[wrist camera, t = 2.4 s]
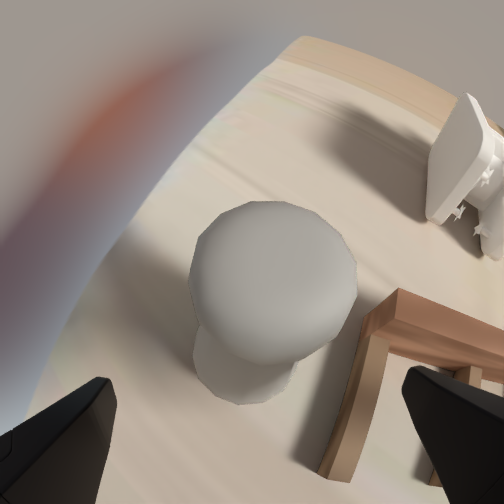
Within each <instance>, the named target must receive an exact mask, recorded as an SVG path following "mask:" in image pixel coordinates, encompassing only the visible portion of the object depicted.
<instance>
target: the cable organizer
mask: <svg viewBox="0 0 504 504" xmlns="http://www.w3.org/2000/svg"><path fill="white" fill-rule="evenodd" d="M463 199H464V200H465V201H467V202H468V203H470V204H471V205H473V206H474V207H476V208H477V209H478V216H479V225H478V226H476V227H475V228H474V229H475V232H474V234H473V236H474V235H475V234H476V233H477V234H479V233H480V245H481V250H482V252H483V253H484V254H485V255H486V256H487V257H489V258H490V259H492V260H493V261H499V260H501V259H502V258H503V257H504V137H502V136H501V135H500V134H499V133H497V132H496V131H495V130H493V129H492V128H491V127H489V125H488V123H487V121H486V119H485V116H484V114H483V112H482V110H481V108H480V106H479V104H478V102H477V100H476V99H475V98H474V97H472V96H471V95H469V94H468V93H466V92H464V93H462V94H461V95H460V97H459V98H458V100H457V102H456V104H455V106H454V108H453V110H452V112H451V114H450V115H449V117H448V119H447V121H446V123H445V125H444V126H443V128H442V130H441V132H440V134H439V135H438V137H437V139H436V141H435V142H434V144H433V146H432V148H431V151H430V154H429V157H428V175H427V194H426V208H425V216H426V218H427V219H428V220H430V221H432V222H433V223H435V224H437V225H441V224H443V223H444V222H445V220H446V219H447V218H448V217H449V216H450V215H451V213H452V214H454V215H455V216H456V218H455V220H456V219H457V218H459V219H460V217H461V214H462V212H463V211H464V210H465V208H466V207H464V208H463V205H462V207H461V208H460V209H458V208H457V206H458V205H459V204H460V202H461V201H462V200H463ZM463 204H464V203H463ZM455 220H454V221H455ZM473 236H472V237H473Z"/></svg>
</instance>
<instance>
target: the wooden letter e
mask: <svg viewBox="0 0 504 504" xmlns="http://www.w3.org/2000/svg"><path fill="white" fill-rule="evenodd" d="M388 352H390V353H393V354H396V355H399V356H403V357H406V358H409V359H413V360H416V361H419V362H423V363H426V364H430V365H433V366H437V367H440V368H444V369H447V370H451V371H454V372H455V375H454V379H456V380H458V381H461V382H464V383H466V384H469V385H471V386H474V387H476V388H479V389H480V387H481V379H485V380H489V381H493V382H497V383H501V384H504V331H503V330H501V329H499V328H496V327H494V326H492V325H489V324H487V323H484V322H482V321H480V320H477V319H475V318H472V317H470V316H468V315H465V314H463V313H460V312H458V311H455V310H453V309H450V308H448V307H446V306H443V305H441V304H438V303H436V302H433V301H431V300H428V299H426V298H423V297H421V296H418V295H416V294H413V293H411V292H408V291H406V290H403V289H401V288H398V289H396V290H395V291H394V292H393V293H392V294H391V295H390V296H389V297H387V298H386V299H385V300H384V301H383V302H382V303H380V304H379V305H378V306H377V307H376V308H374V309H373V310H372V311H371V312H370V313H368V314H367V315H366V316H365V317H364V320H363V324H362V329H361V333H360V338H359V342H358V346H357V350H356V354H355V358H354V362H353V366H352V370H351V374H350V377H349V381H348V384H347V388H346V391H345V395H344V398H343V401H342V405H341V408H340V411H339V414H338V417H337V420H336V423H335V426H334V429H333V432H332V435H331V438H330V440H329V443H328V446H327V449H326V451H325V454H324V456H323V459H322V462H321V464H320V467H319V469H318V472H317V474H318V475H320V476H322V477H324V478H326V479H328V480H334V481H340V482H346V483H350V481H351V479H352V476H353V474H354V471H355V469H356V466H357V463H358V460H359V458H360V455H361V452H362V449H363V446H364V443H365V440H366V437H367V434H368V431H369V427H370V424H371V421H372V417H373V414H374V410H375V406H376V403H377V399H378V395H379V391H380V387H381V383H382V379H383V374H384V370H385V365H386V360H387V356H388ZM429 485H430V486H437V487H442V484H441V482H440V480H439V478H438V475H437V473H436V471H435V469H434V470H433V473H432V476H431V479H430V482H429Z"/></svg>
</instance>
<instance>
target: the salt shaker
mask: <svg viewBox="0 0 504 504" xmlns="http://www.w3.org/2000/svg"><path fill="white" fill-rule="evenodd" d="M188 284H189V288H190V292H191V296H192V300H193V305H194V309H195V312H196V316H197V319H198V321H199V323H200V325H199V328H198V330H197V333H196V337H195V343H194V349H193V354H192V357H193V361H194V364H195V368H196V372H197V376H198V379H199V380H200V381H201V382H202V383H203V384H204V385H205V386H206V387H207V388H208V389H209V390H210V391H211V392H212V393H213V394H214V395H215V396H217V397H219V398H222V399H224V400H227V401H229V402H232V403H234V404H237V405H244V404H255V403H263V402H265V401H267V400H268V399H270V398H272V397H273V396H275V395H277V394H279V393H280V392H282V391H283V390H284V389H285V387H286V386H287V384H288V383H289V381H290V379H291V378H292V376H293V374H294V373H295V371H296V368H297V365H298V361H300V360H302V359H304V358H306V357H307V356H309V355H310V354H312V353H313V352H315V351H316V350H318V349H320V348H321V347H323V346H324V345H326V344H327V343H329V342H330V341H332V340H333V339H334V338H336V337H337V335H338V334H339V332H340V330H341V328H342V327H343V325H344V323H345V321H346V318H347V316H348V314H349V312H350V310H351V308H352V306H353V304H354V302H355V299H356V297H357V267H356V261H355V259H354V257H353V255H352V254H351V252H350V250H349V248H348V246H347V244H346V243H345V241H344V239H343V237H342V235H341V234H340V233H339V232H338V231H337V230H336V229H334V228H333V227H332V226H331V225H330V224H329V223H327V222H326V221H325V220H324V219H323V218H321V217H320V216H319V215H318V214H317V213H315V212H313V211H310V210H307V209H304V208H302V207H299V206H296V205H293V204H290V203H287V202H277V201H251V202H248V203H246V204H243V205H241V206H238V207H236V208H234V209H231V210H229V211H226V212H224V213H222V214H220V215H219V216H218V217H217V218H216V219H215V220H214V221H213V222H212V223H211V225H210V226H209V227H208V228H207V229H206V230H205V231H204V232H203V233H202V234H201V235H200V236H199V237H198V241H197V244H196V248H195V252H194V256H193V260H192V264H191V268H190V273H189V280H188Z"/></svg>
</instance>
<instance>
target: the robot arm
mask: <svg viewBox="0 0 504 504" xmlns="http://www.w3.org/2000/svg"><path fill="white" fill-rule="evenodd" d="M402 395H403V398H404V400H405V403H406V405H407V408H408V411H409V413H410V416H411V419H412V421H413V424H414V427H415V429H416V431H417V433H418V435H419V437H420V439H421V442H422V444H423V446H424V448H425V450H426V452H427V454H428V456H429V458H430V460H431V462H432V465H433V467H434V469H435V471H436V473H437V475H438V478H439V480H440V482H441V484H442V487H443V489H444V491H445V493H446V496H447V498H448V500H449V503H450V504H504V398H503V397H500V396H498V395H495V394H492V393H490V392H487V391H484V390H482V389H479V388H476V387H474V386H471V385H469V384H466V383H464V382H461V381H458V380H456V379H453V378H451V377H448V376H446V375H443V374H441V373H438V372H436V371H433V370H431V369H429V368H426V367H424V366H420V365H419V366H414V367H411V368H410V369H409V370H408V372H407V374H406V377H405V380H404V383H403V385H402ZM116 408H117V399H116V396H115V392H114V389H113V385H112V382H111V380H110V379H109V378H104V377H95V378H94V379H92V380H91V381H89V382H87V383H86V384H84V385H83V386H81V387H79V388H78V389H76V390H75V391H73V392H72V393H70V394H68V395H67V396H65V397H64V398H62V399H60V400H59V401H57V402H56V403H54V404H52V405H51V406H49V407H48V408H46V409H44V410H43V411H41V412H39V413H38V414H36V415H35V416H33V417H31V418H30V419H28V420H26V421H25V422H23V423H21V424H20V425H18V426H16V427H15V428H13V430H10V431H8V432H7V433H5V434H3V435H2V436H0V504H95V502H96V497H97V493H98V489H99V486H100V482H101V478H102V474H103V470H104V467H105V463H106V460H107V456H108V452H109V448H110V443H111V437H112V431H113V425H114V419H115V414H116Z"/></svg>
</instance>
